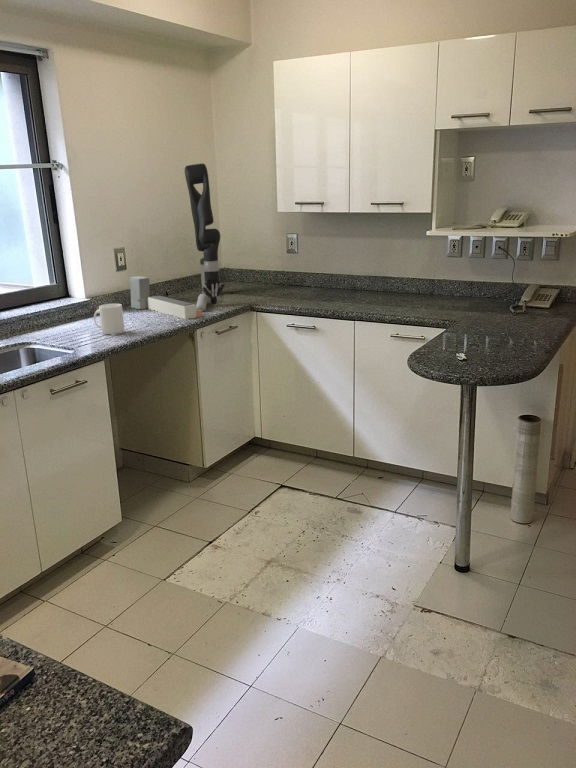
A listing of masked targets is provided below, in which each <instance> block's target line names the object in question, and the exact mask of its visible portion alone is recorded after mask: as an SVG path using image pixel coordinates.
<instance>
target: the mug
mask: <svg viewBox="0 0 576 768" xmlns="http://www.w3.org/2000/svg"><path fill="white" fill-rule="evenodd" d="M123 313H124V312H123V304H121V303H105V304H101V305H99V306H98V309H96V311H95V312H94V314H93V321H94V324H95V326H96V327H97V328H99V329H101V332H102V334H104V335H106V334H114V335H118V333H120V334H122V332H123V333H124V332H125V324H124V321H125V320H124V314H123ZM98 314H99V320H100V325H99V324H98V322H97V319H96V318H97V315H98Z"/></svg>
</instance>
